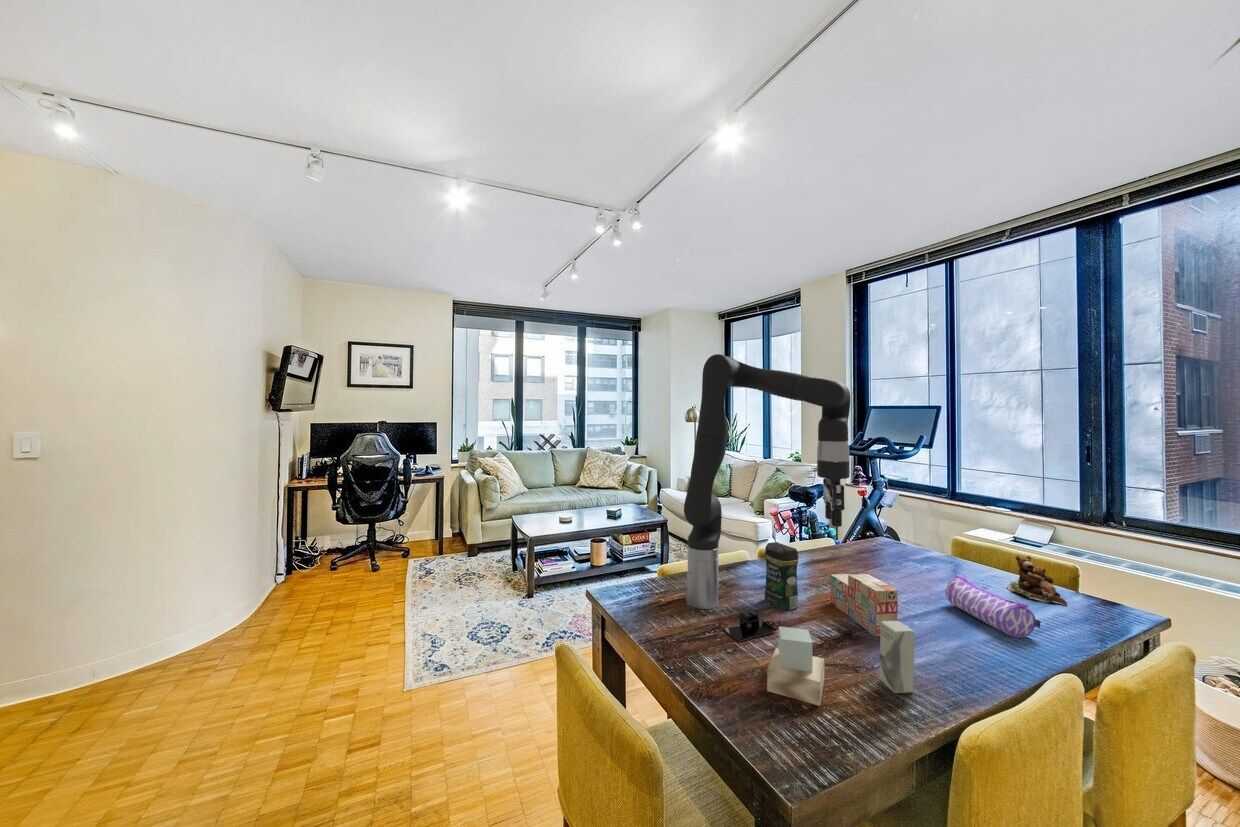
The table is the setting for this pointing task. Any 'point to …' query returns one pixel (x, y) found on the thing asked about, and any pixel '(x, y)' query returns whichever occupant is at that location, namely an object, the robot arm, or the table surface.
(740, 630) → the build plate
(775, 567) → the coffee jar
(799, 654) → the sage cube
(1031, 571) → the bear figurine
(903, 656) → the box
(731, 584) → the table surface
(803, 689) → the oak block
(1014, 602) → the pencil case
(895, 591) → the stack of blocks
